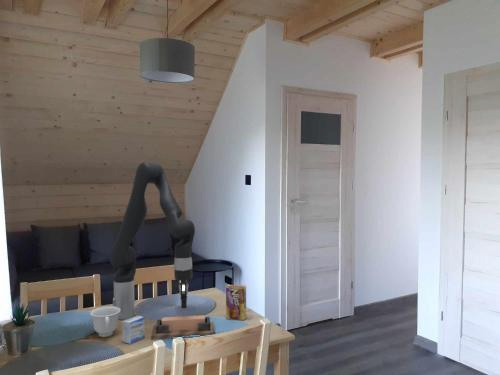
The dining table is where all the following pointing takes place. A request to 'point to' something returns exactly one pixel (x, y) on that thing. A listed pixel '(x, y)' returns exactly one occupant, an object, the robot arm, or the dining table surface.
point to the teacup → (105, 320)
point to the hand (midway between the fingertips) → (184, 307)
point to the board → (163, 330)
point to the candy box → (236, 302)
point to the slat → (183, 322)
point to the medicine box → (133, 329)
